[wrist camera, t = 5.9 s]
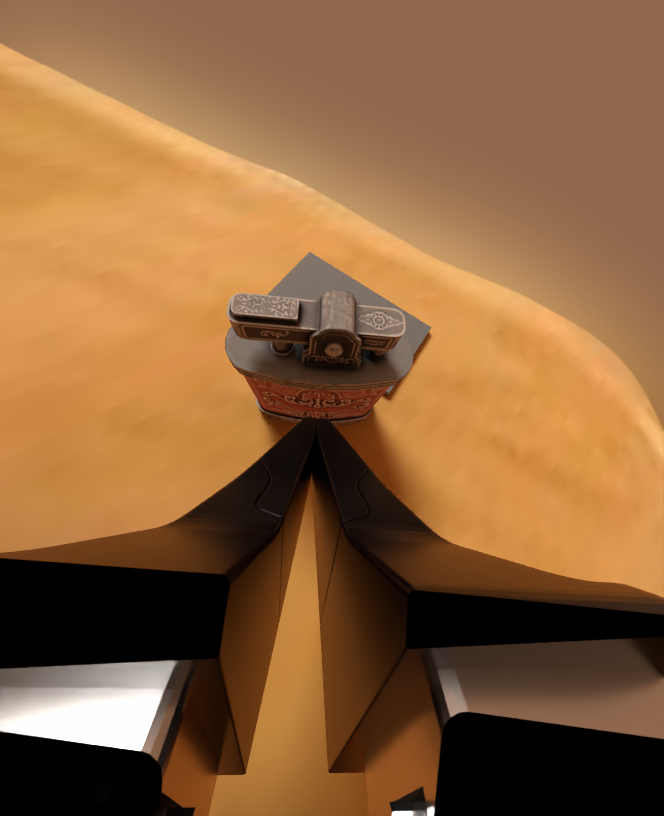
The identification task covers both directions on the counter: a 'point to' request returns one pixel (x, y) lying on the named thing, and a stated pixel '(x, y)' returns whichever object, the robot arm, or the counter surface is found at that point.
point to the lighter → (316, 354)
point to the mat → (321, 277)
